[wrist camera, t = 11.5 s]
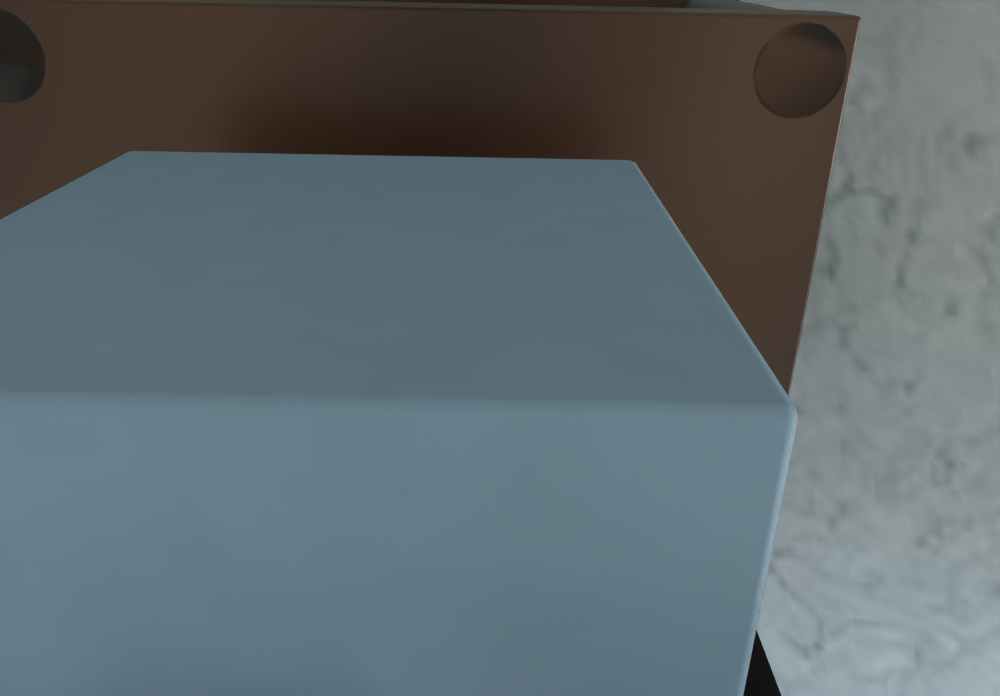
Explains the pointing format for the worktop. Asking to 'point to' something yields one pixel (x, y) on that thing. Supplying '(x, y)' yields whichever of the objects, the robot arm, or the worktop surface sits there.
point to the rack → (464, 104)
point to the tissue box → (376, 434)
